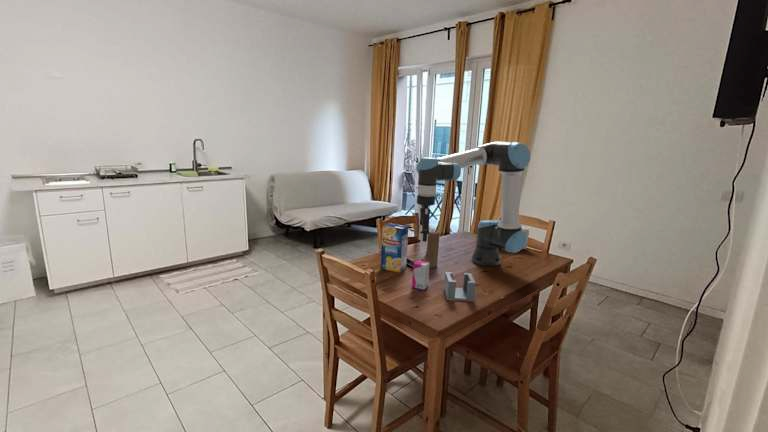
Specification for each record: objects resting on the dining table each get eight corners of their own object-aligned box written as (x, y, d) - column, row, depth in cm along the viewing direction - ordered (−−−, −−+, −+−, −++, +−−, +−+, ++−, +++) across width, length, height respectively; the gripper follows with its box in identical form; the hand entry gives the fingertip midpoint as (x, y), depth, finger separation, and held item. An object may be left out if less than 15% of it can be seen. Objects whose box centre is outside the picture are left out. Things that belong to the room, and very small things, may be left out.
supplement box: (428, 286, 164) (430, 261, 162) (424, 291, 159) (425, 265, 156) (416, 283, 166) (417, 259, 164) (411, 288, 161) (413, 263, 159)
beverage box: (400, 272, 179) (402, 228, 174) (380, 268, 184) (382, 225, 179) (406, 268, 185) (408, 226, 180) (386, 264, 190) (388, 222, 185)
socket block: (469, 290, 161) (470, 273, 160) (474, 301, 151) (476, 283, 149) (443, 289, 162) (445, 271, 160) (447, 299, 151) (448, 281, 149)
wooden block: (426, 270, 184) (429, 235, 180) (419, 267, 187) (421, 233, 183) (437, 266, 190) (440, 232, 187) (430, 263, 193) (432, 230, 190)
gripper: (415, 190, 166) (412, 235, 171) (418, 199, 142) (415, 252, 146) (432, 191, 166) (429, 236, 170) (438, 200, 142) (434, 253, 146)
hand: (422, 243), depth 158 cm, fingers open, 13 cm apart
